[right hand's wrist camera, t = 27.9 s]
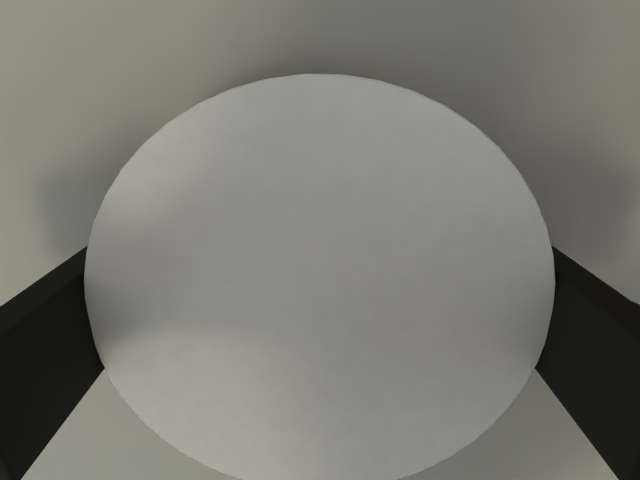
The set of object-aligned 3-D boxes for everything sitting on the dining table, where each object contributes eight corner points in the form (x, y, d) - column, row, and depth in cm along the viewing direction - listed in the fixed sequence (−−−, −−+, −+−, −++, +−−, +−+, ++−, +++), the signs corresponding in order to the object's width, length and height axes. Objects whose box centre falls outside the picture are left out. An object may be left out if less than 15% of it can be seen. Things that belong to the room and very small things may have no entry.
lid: (138, 30, 10) (86, 14, 8) (575, 128, 11) (642, 139, 8) (119, 398, 14) (80, 459, 11) (443, 451, 14) (466, 517, 12)
